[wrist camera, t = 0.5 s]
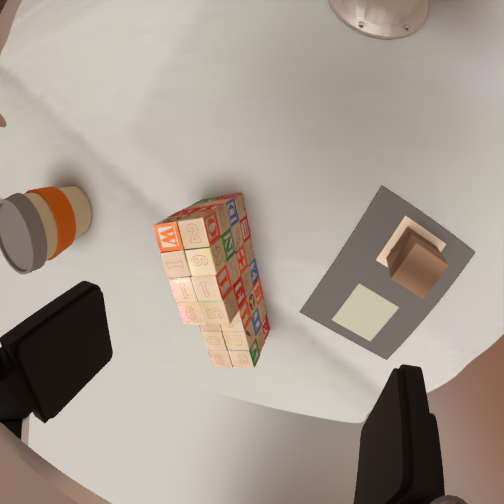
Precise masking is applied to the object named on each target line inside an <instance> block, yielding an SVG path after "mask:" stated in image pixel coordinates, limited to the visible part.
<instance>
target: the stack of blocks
mask: <svg viewBox="0 0 504 504" xmlns="http://www.w3.org/2000/svg"><path fill="white" fill-rule="evenodd" d="M153 228H154V231H155V235H156V238H157V242H158V245H159V249H160V251H161V254H160V256H161V259H162V262H163V265H164V268H165V271H166V274H167V277H168V278H169V284H170V287H171V290H172V292H173V295H174V298H175V301H176V302H177V306H178V309H179V312H180V314H181V317H182V320H183V323H184V325H199V326H200V329H201V334H202V337H203V339H204V342H205V345H206V348H207V349H208V353H209V355H210V358H211V361H212V364H213V366H215V367H229V368H233V367H236V368H255V366H256V363H257V361H258V359H259V357H260V352H261V350H262V348H263V345H264V343H265V340H266V338H267V336H268V333H269V330H270V329H269V325H268V320H267V316H266V308H265V303H264V298H263V293H262V288H261V283H260V278H259V276H258V271H257V266H256V261H255V258H254V252H253V247H252V242H251V238H250V237H251V235H250V230H249V225H248V220H247V215H246V209H245V204H244V199H243V195H242V193H239V194H233V195H227V196H222V197H217V198H211V199H205V200H200V201H198V202H196V203H195V204H193V205H191V206H189V207H187V208H185V209H183V210H181V211H179V212H176V213H175V214H173V215H171V216H169V217H168V218H166V219H164V220H163V221H161V222H159V223H157V224H155V225H153Z"/></svg>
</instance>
